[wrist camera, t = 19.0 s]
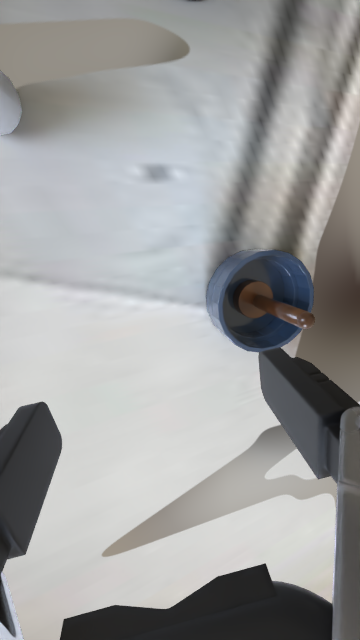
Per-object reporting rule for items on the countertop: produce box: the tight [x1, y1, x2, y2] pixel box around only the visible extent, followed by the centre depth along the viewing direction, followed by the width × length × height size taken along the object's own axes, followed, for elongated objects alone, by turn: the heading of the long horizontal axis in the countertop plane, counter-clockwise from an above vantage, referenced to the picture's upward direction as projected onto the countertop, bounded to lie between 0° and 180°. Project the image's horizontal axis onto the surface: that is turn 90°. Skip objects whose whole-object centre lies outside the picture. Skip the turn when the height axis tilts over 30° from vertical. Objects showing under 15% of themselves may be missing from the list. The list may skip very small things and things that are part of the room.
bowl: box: [206, 249, 314, 352], centre depth 37 cm, size 13×13×6 cm
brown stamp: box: [233, 280, 315, 329], centre depth 33 cm, size 5×5×13 cm
